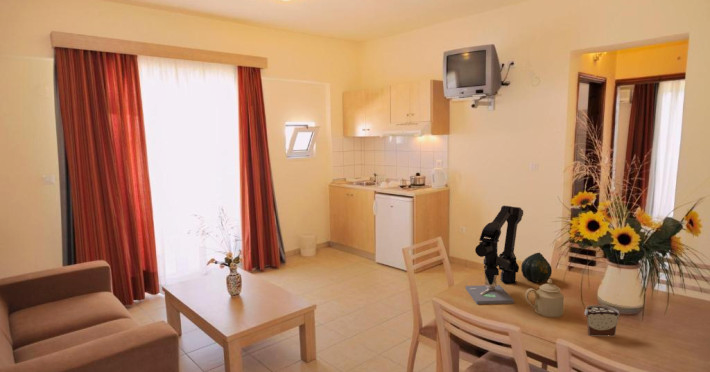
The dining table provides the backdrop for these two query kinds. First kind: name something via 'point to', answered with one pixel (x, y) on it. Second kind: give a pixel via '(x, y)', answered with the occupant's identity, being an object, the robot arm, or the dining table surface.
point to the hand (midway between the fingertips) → (490, 283)
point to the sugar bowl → (547, 300)
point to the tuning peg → (488, 286)
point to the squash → (536, 268)
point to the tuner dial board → (489, 295)
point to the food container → (601, 320)
